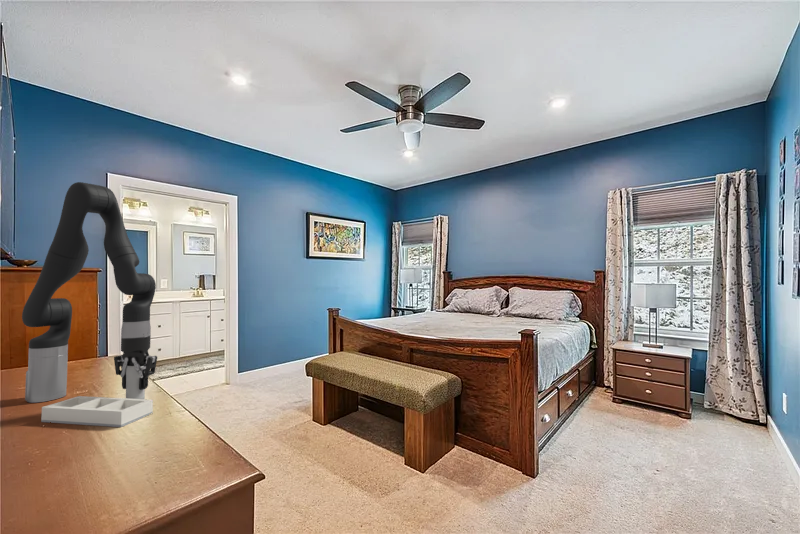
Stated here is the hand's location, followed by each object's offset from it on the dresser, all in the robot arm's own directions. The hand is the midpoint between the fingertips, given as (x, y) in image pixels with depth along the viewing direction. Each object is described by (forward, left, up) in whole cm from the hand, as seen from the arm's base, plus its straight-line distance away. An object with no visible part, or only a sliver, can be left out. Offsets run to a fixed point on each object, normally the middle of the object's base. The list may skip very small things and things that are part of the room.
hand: (134, 388), depth 109 cm
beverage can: (0, 0, -5) cm, 5 cm away
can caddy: (+1, -12, -4) cm, 13 cm away
